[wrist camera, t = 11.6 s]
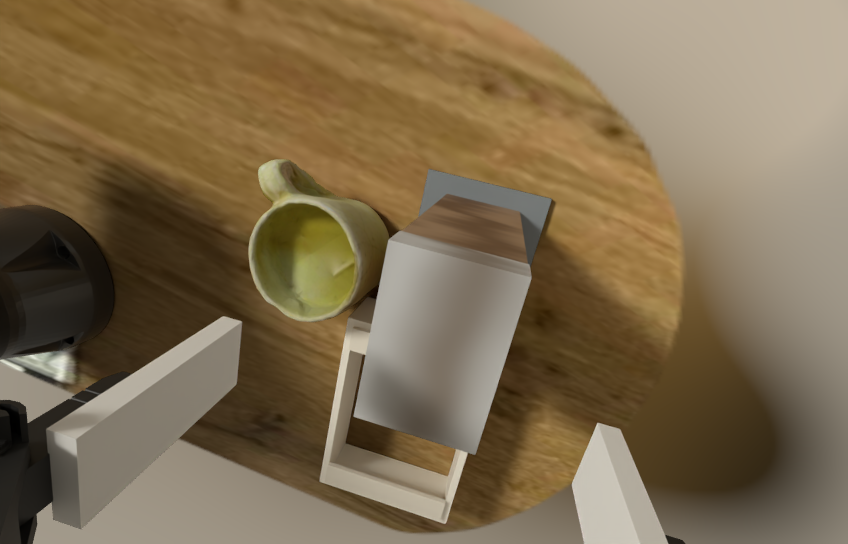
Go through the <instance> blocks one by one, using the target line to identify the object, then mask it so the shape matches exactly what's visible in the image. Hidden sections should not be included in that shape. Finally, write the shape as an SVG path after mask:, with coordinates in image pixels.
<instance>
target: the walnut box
mask: <svg viewBox="0 0 848 544" xmlns="http://www.w3.org/2000/svg"><path fill="white" fill-rule="evenodd" d="M531 278H532V276H531V270H530V264H528V261H527V255H526V248H525V242H524V235H523V229H522V222H521V216H520V212H519V211H515V210H511V209H507V208H503V207H499V206H495V205H491V204H487V203H483V202H479V201H475V200H471V199H467V198H463V197H459V196H455V195H451V194H446V195H445V196H444V197H442V198H441V199H440V200H439V201H438V202H436V203H435V204H434V205H433V206H431V207H430V208H429V209H428V210H427V211H425V212H424V213H423V214H422V215H421V216H419V217H418V218H417V219H416V220H414V221H413V222H412V223H411V224H410V225H408V226H407V227H406V228H405V229H403V230H402V231H399V232H397V233H396V234H395V235H394V236H392V237H391V238H390V239H389V240H388V244H387V249H386V254H385V260H384V265H383V270H382V275H381V280H380V285H379V290H378V295H377V300H376V305H375V310H374V315H373V320H372V325H371V331H370V336H369V341H368V346H367V351H366V356H365V361H364V366H363V371H362V376H361V381H360V386H359V391H358V396H357V401H356V407H355V412H354V417H356V418H359V419H363V420H366V421H369V422H372V423H375V424H378V425H382V426H385V427H388V428H391V429H394V430H397V431H401V432H404V433H407V434H410V435H413V436H416V437H420V438H423V439H426V440H429V441H432V442H435V443H439V444H442V445H445V446H448V447H451V448H454V449H458V450H461V451H464V452H467V453H470V454H473V455H475V454H476V451H477V448H478V445H479V442H480V439H481V435H482V432H483V429H484V426H485V423H486V420H487V417H488V413H489V410H490V407H491V404H492V401H493V398H494V395H495V392H496V388H497V385H498V382H499V379H500V376H501V373H502V370H503V366H504V363H505V360H506V357H507V354H508V351H509V348H510V344H511V341H512V338H513V335H514V332H515V329H516V326H517V322H518V319H519V316H520V313H521V310H522V307H523V304H524V300H525V297H526V294H527V291H528V288H529V285H530V282H531Z"/></svg>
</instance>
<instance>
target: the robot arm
mask: <svg viewBox="0 0 848 544" xmlns="http://www.w3.org/2000/svg"><path fill="white" fill-rule="evenodd" d="M113 303H114V291H113V284H112V279H111V275H110V272H109V269H108V267H107V264H106V262H105V260H104V258H103V256H102V254H101V252H100V251H99V249H98V248H97V246H96V245H95V243H94V242H93V241H92V239H91V238H90V237H89V236H88V235H87V233H86V232H85V231H84V230H83V229H82V228H81V227H79V226H78V225H77V224H76V223H75V222H73V221H72V220H71V219H69V218H68V217H66V216H65V215H63V214H61V213H59V212H57V211H55V210H52V209H50V208H46V207H42V206H37V205H25V206H17V207H10V208H3V209H0V360H1V359H7V358H13V357H20V356H27V355H33V354H40V353H47V352H53V351H60V350H65V349H68V348H71V347H74V346H76V345H78V344H80V343H83V342H85V341H87V340H89V339H91V338H93V337H95V336H96V335H98V334H99V333H100V332H101V331H102V330H103V329H104V328H105V326H106V325H107V323H108V321H109V319H110V317H111V314H112V310H113ZM241 330H242V321H239V320H235V319H232V318H228V317H225V316H223V317H221V318H219V319H218V320H216V321H215V322H213V323H212V324H210V325H208V326H207V327H205V328H204V329H202V330H201V331H199V332H197V333H196V334H194V335H193V336H191V337H190V338H188V339H186V340H185V341H183V342H182V343H180V344H179V345H177V346H175V347H174V348H172V349H171V350H169V351H168V352H166V353H164V354H163V355H161V356H160V357H158V358H157V359H155V360H154V361H152V362H150V363H149V364H147V365H146V366H144V367H143V368H141V369H139V370H138V371H136V372H135V373H133V374H130V373H126V372H120V373H117V374H114V375H111V376H108V377H105V378H103V379H101V380H99V381H98V382H96V383H94V384H93V385H91V386H89V387H88V388H86V390H85V391H81V392H79V393H78V394H76V395H74V396H73V397H72V398H71V399H68V400H66V401H64V402H63V403H61V404H59V405H58V406H56V407H54V408H53V409H51V410H49V411H48V412H46V413H44V414H43V415H41V416H40V417H38V418H36V419H34V420H33V421H31V422H30V423H27V413H26V407H25V406H24V405H23V404H21V403H20V402H16V401H11V400H0V544H33V540H34V535H35V531H36V527H37V516H36V514H37V513H38V512H40V511H41V510H42V509H43V508H45V507H46V506H47V505H48V504H50V503H51V502H52V510H53V520H56V521H59V522H62V523H64V524H67V525H70V526H73V527H76V528H79V529H82V528H83V527H84V526H85V525H86V524H87V523H88V522H89V521H90V520H92V519H93V518H94V517H95V516H96V515H97V514H98V513H99V512H100V511H101V510H102V509H103V508H104V507H105V506H106V505H107V504H109V503H110V502H111V501H112V500H113V499H114V498H115V497H116V496H117V495H118V494H119V493H120V492H122V491H123V490H124V489H125V488H126V487H127V486H128V485H129V484H130V483H131V482H132V481H133V480H134V479H136V478H137V477H138V476H139V475H140V474H141V473H142V472H143V471H144V470H145V469H146V468H147V467H148V466H149V465H151V464H152V463H153V462H154V461H155V460H156V459H157V458H158V457H159V456H160V455H161V454H162V453H163V452H165V451H166V450H167V449H168V448H169V447H170V446H171V445H172V444H173V443H174V442H175V441H176V440H177V439H179V438H180V437H181V436H182V435H183V434H184V433H185V432H186V431H187V430H188V429H189V428H190V427H191V426H192V425H194V424H195V423H196V422H197V421H198V420H199V419H200V418H201V417H202V416H203V415H204V414H205V413H206V412H208V411H209V410H210V409H211V408H212V407H213V406H214V405H215V404H216V403H217V402H218V401H219V400H220V399H221V398H223V397H224V396H225V395H226V394H227V393H228V392H229V391H230V390H231V389H232V388H233V387H234V386H235V385H237V375H238V364H239V353H240V342H241ZM572 488H573V493H574V498H575V503H576V507H577V512H578V517H579V521H580V526H581V530H582V535H583V540H584V544H685V543H684V542H683V540H680V539H677V538H673V537H670V536H667V535H665V534H664V532H663V530H662V527H661V525H660V523H659V520H658V518H657V515H656V513H655V511H654V508H653V506H652V504H651V501H650V499H649V497H648V494H647V492H646V489H645V487H644V485H643V482H642V480H641V478H640V475H639V473H638V470H637V468H636V466H635V463H634V461H633V459H632V456H631V454H630V451H629V449H628V447H627V444H626V442H625V440H624V437H623V435H622V432H621V430H620V429H618V428H615V427H611V426H608V425H604V424H601V423H597V425H596V428H595V430H594V433H593V435H592V437H591V440H590V442H589V444H588V447H587V449H586V452H585V454H584V456H583V459H582V461H581V464H580V466H579V468H578V471H577V473H576V475H575V478H574V480H573V483H572Z"/></svg>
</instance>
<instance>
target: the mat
mask: <svg viewBox="0 0 848 544" xmlns="http://www.w3.org/2000/svg"><path fill="white" fill-rule="evenodd" d="M446 194H451V195H455V196H459V197H463V198H467V199H471V200H475V201H479V202H483V203H487V204H491V205H495V206H499V207H503V208H507V209H511V210H515V211H519V212H520V216H521V222H522V229H523V235H524V242H525V248H526V255H527V261H528V264H530V267H531V264H532V260H533V257H534V254H535V251H536V248H537V245H538V241H539V238H540V235H541V232H542V229H543V226H544V222H545V219H546V216H547V213H548V210H549V206H550V203H551V200H552V199H551V198H547V197H542V196H538V195H534V194H530V193H526V192H522V191H518V190H514V189H509V188H505V187H501V186H497V185H493V184H489V183H485V182H481V181H477V180H472V179H468V178H464V177H460V176H456V175H452V174H448V173H444V172H439V171H435V170H431V169H429V170H428V175H427V180H426V184H425V189H424V194H423V198H422V203H421V207H420V212H419V216H421V215H422V214H423V213H424V212H425V211H427V210H428V209H429V208H430V207H431V206H433V205H434V204H435V203H436V202H438V201H439V200H440V199H441V198H442V197H444V196H445V195H446Z"/></svg>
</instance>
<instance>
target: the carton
mask: <svg viewBox="0 0 848 544" xmlns="http://www.w3.org/2000/svg"><path fill="white" fill-rule="evenodd" d="M376 300H377V299H374V298H370V297H367V298H366V299H365V300H364V301H363V302H362V303H361V304H360V305H359V307H358V308H357V309H356V310H355V311H354V312H353V313H352V314H351V315H350V316H349V317H348V323H347V328H346V334H345V340H344V345H343V351H342V357H341V362H340V368H339V374H338V379H337V385H336V391H335V396H334V402H333V408H332V413H331V419H330V424H329V430H328V436H327V441H326V447H325V453H324V458H323V464H322V470H321V475H320V481H319V482H322V483H325V484H328V485H331V486H334V487H337V488H340V489H343V490H346V491H349V492H352V493H355V494H358V495H361V496H364V497H366V498H369V499H372V500H375V501H378V502H381V503H384V504H387V505H390V506H393V507H396V508H399V509H402V510H405V511H408V512H411V513H414V514H417V515H420V516H423V517H426V518H429V519H432V520H435V521H438V522H441V523H444V524H446V521H447V518H448V515H449V512H450V508H451V505H452V502H453V499H454V495H455V492H456V489H457V486H458V483H459V479H460V476H461V473H462V470H463V466H464V465H465V462H466V459H467V456H468V453H467V452H464V451H461V450H458V449H456V452H455V455H454V458H453V462H452V465H451V468H450V472H449V475H448V476H445V475H442V474H439V473H436V472H433V471H429V470H426V469H423V468H420V467H417V466H414V465H411V464H408V463H405V462H402V461H399V460H396V459H392V458H389V457H386V456H383V455H380V454H377V453H374V452H371V451H368V450H365V449H362V448H358V447H355V446H352V445H349V444H346V438H347V433H348V428H349V423H350V418H351V413H352V408H353V403H354V397H355V392H356V387H357V382H358V377H359V372H360V367H361V361H362V356H363V354H364V355H366V351H367V346H368V341H369V336H370V331H371V325H372V320H373V315H374V310H375V305H376Z"/></svg>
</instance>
